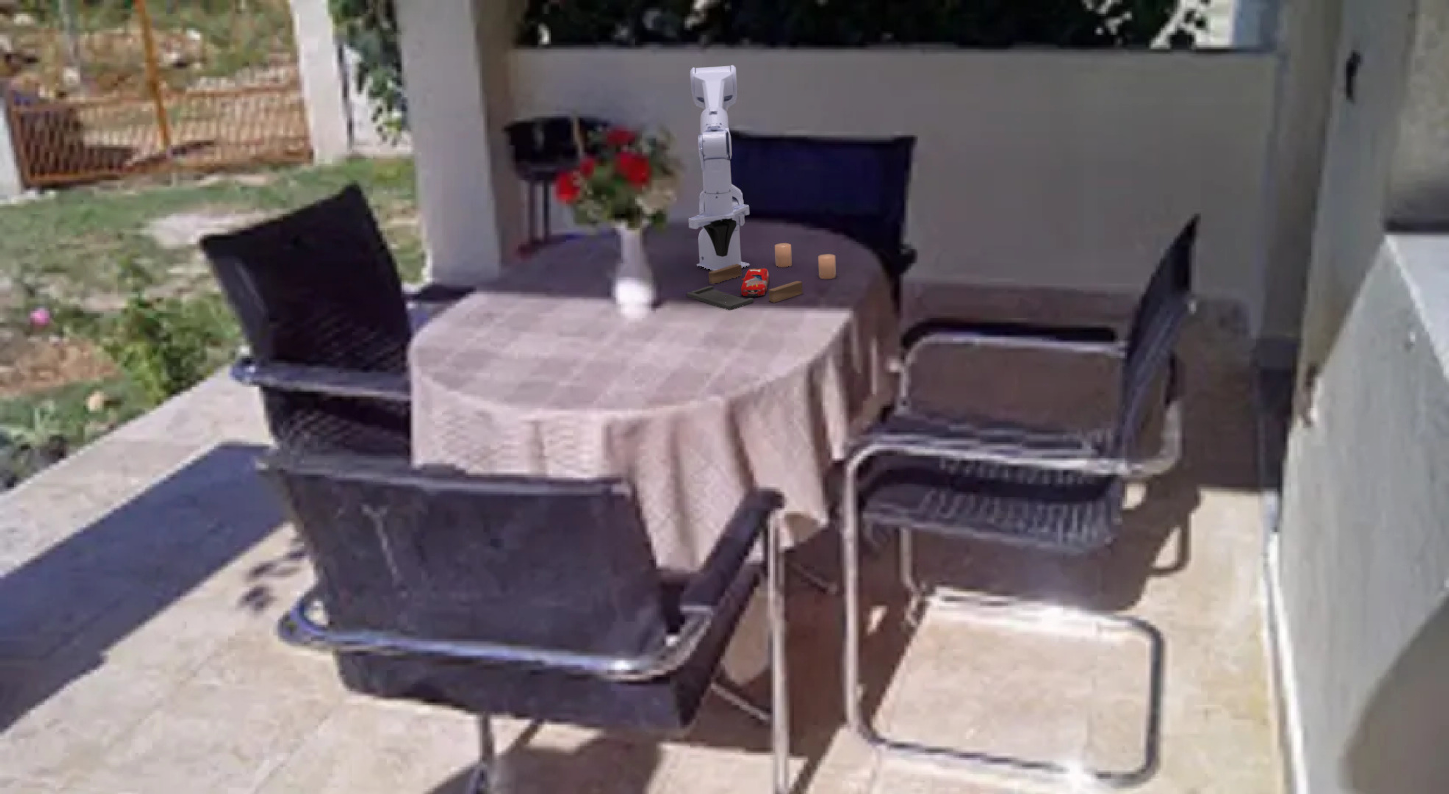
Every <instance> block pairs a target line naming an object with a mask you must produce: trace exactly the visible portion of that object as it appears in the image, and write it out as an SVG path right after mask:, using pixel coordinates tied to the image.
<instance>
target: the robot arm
mask: <svg viewBox="0 0 1449 794" xmlns="http://www.w3.org/2000/svg"><path fill="white" fill-rule="evenodd" d="M689 71H690V72H689V77H690V90H691V91H690V93H691V95H692V102H693V103H694V105H695V106H696V107H698V108H701V109H702V110H703V111H702V112H701V113H700V119H699V120H700V122H699V123H700V133H699V135H698V137H697V147H698V157H699V160H700V168H701V171H702V172H701V173H702V185H703V186H702V187H703V190H702V191H700V194H699V199H698V200H699V204H698V206H699V207H698V208H699V211H698V213H699V214H697V215H695V216H693V217H689V218H688V228H689V229H694V230H697V229H699V228H701V230H700V231H699V234H698V239H697V242H698V256H699V258H698V259H699V263H696V266H697V267H698V266H702V267H704V268H703V269H705V268H706V269H705V270H708V269H710V270H709V271H714V270H718V269H721V268H724V267H728V266H731V265H734V264H739V265H741V269H743V267H744V268H747V267H750V262H749V263H748V262H744V261H742V256H741V254H742V253H741V239H740V238H741V236H740V227H743V226H744V224H745V222H746V221H745V216H749V215H750V206H749V204H744V199H743V197H744V196H743V192H742V190H741V189H740V188H739V187H737V186H736V185H734V184H733V183H732V172H731V170H732V169H731V159H732V156H733V154H732V150H733V149H732V136H731V132H730V127H729V114H728V110H729V108H730V107H731V106H734V105H735V104H737V100H738V94H737V93H738V85H737V84H738V80H737V78H738V77H737V67H736V66H735V65H734V64H731V65H725V66H724V65H723V66H708V67H692V68H691V69H690V70H689ZM746 266H747V267H746Z"/></svg>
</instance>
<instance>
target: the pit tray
mask: <svg viewBox="0 0 1449 794" xmlns="http://www.w3.org/2000/svg"><path fill="white" fill-rule="evenodd" d="M714 291H715V292H714ZM723 294H724V295H723ZM726 294H729V295H726ZM686 297H687V298H690V297H691V298H690V299H693V298H694V299H693V300H695V301H696V300H697V301H699V300H700V301H699V302H702V301H703V303H705V302H706V304H709V305H712V306H715V305H716V306H715V307H719V308H722V309H724V308H726V309H725V310H727V309H728V310H727V311H731V310H734V308H735V309H737V307H738V308H740V307H739V306H741V307H743V306H742V305H744V306H747V305H750V304H753V302H754V301H755V300H754V298H753V297H748V298H743V297H741V298H740V297H739V296H736V295H734V294H730V293H728V292H723V291H721V290H718V289H714V285H709V286H704V287H702V288H699V289H695V290H691V291H689V292H686ZM725 297H726V298H725ZM725 302H726V303H725ZM749 303H750V304H749ZM754 303H755V302H754ZM746 304H747V305H746Z"/></svg>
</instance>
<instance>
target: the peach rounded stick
mask: <svg viewBox="0 0 1449 794" xmlns="http://www.w3.org/2000/svg"><path fill="white" fill-rule="evenodd" d="M774 256H775V259H774V260H775V266H776V267H777V266H778V267H777V268H787V267H788V266H789V267H791V266H792V265H793V262H792V261H793V260H792V244H790V243H787V242H783V243H782V242H779V243H777V244H775V245H774Z"/></svg>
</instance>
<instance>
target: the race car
mask: <svg viewBox="0 0 1449 794" xmlns="http://www.w3.org/2000/svg"><path fill="white" fill-rule="evenodd" d="M741 281H742V284H741V288H740V289H741V290H740V292H741V293H740V294H741V296H742V295H743V296H744V297H760V296H766V294H767V291H768V288H769V284H770V274H769V271H768V268H764V267H762V268H761V267H758V268H755V267H754V268H748V270H747V271H746V273H745V276H744V277H743V278H742V277H741ZM743 296H742V297H743Z"/></svg>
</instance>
